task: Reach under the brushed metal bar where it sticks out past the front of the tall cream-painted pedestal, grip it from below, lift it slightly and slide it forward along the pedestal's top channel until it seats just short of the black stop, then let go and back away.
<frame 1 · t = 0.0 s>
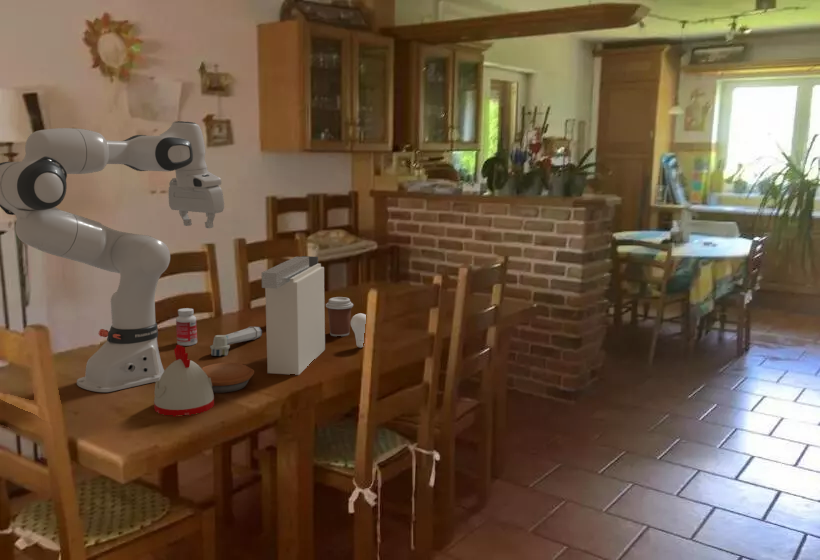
hand: (198, 226, 214), 39 cm above the table, tool pointing down, fingers open, 8 cm apart
lightbulb: (360, 348, 232), on the table
stand: (297, 360, 217), on the table
pepper shaker: (279, 326, 258), on the table
coffee cup: (339, 334, 248), on the table
brushed metal bar: (287, 278, 205), point 26 cm above the table, touching stand
pill bottle: (187, 344, 234), on the table
kitchen timer: (184, 407, 179), on the table
toothbrush head: (237, 348, 232), on the table
pie: (224, 386, 195), on the table
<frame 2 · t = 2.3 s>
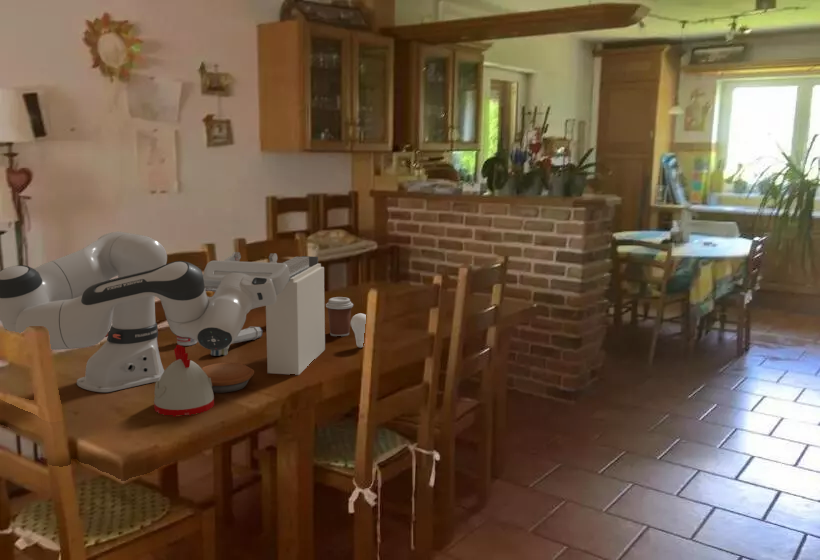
hand: (255, 254, 181), 36 cm above the table, tool pointing upward, fingers open, 8 cm apart
nothing on the table moved.
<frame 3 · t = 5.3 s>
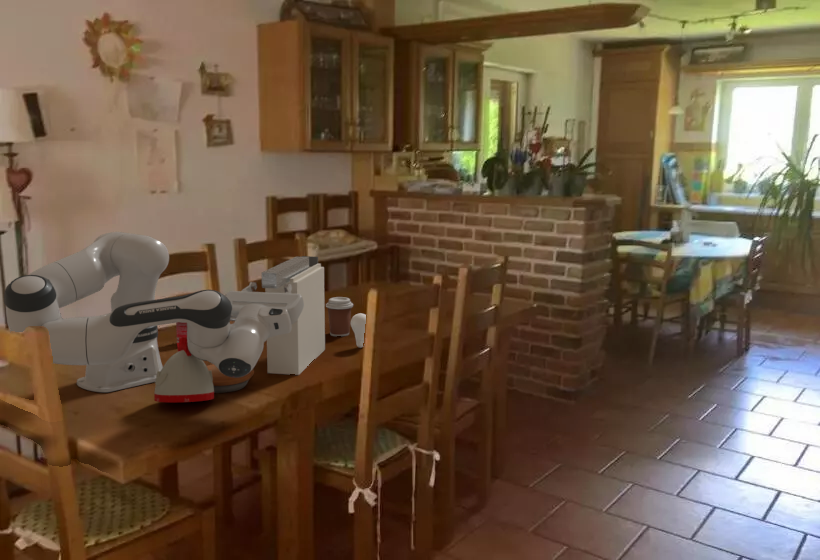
hand: (271, 284, 191), 27 cm above the table, tool pointing upward, fingers open, 8 cm apart
kitchen timer: (184, 400, 179), point 1 cm above the table
everything else where it was.
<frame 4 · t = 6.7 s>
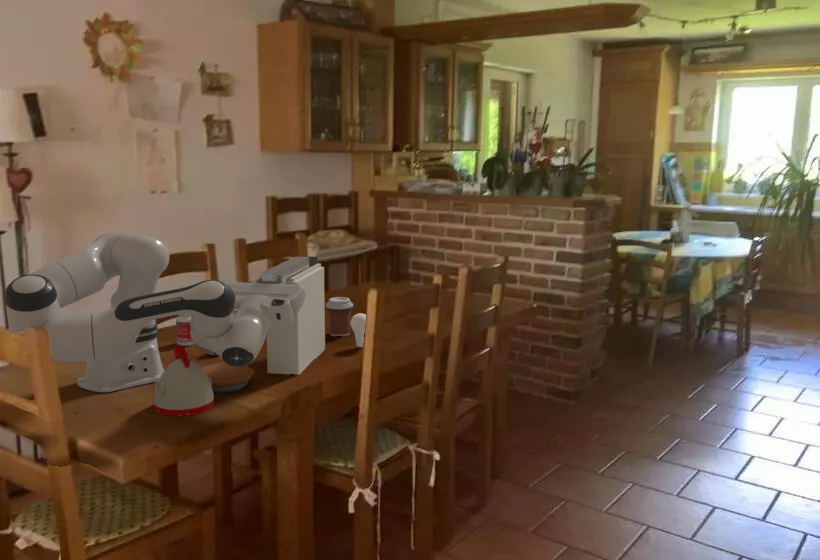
hand: (273, 276, 194), 28 cm above the table, tool pointing upward, fingers closed on brushed metal bar, 4 cm apart
brushed metal bar: (287, 278, 205), point 26 cm above the table, touching gripper, stand
kitchen timer: (184, 406, 179), on the table
everything else where it was.
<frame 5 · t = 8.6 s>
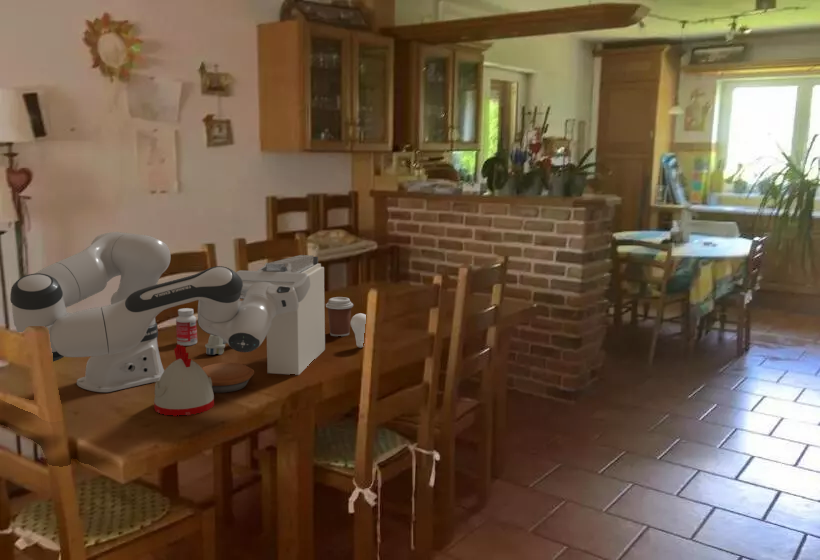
hand: (278, 265, 197), 31 cm above the table, tool pointing upward, fingers closed on brushed metal bar, 4 cm apart
brushed metal bar: (291, 273, 207), point 27 cm above the table, touching gripper
when the fingers open (30 cm above the table, at t = 9.8 s): brushed metal bar stays where it is, resting on stand.
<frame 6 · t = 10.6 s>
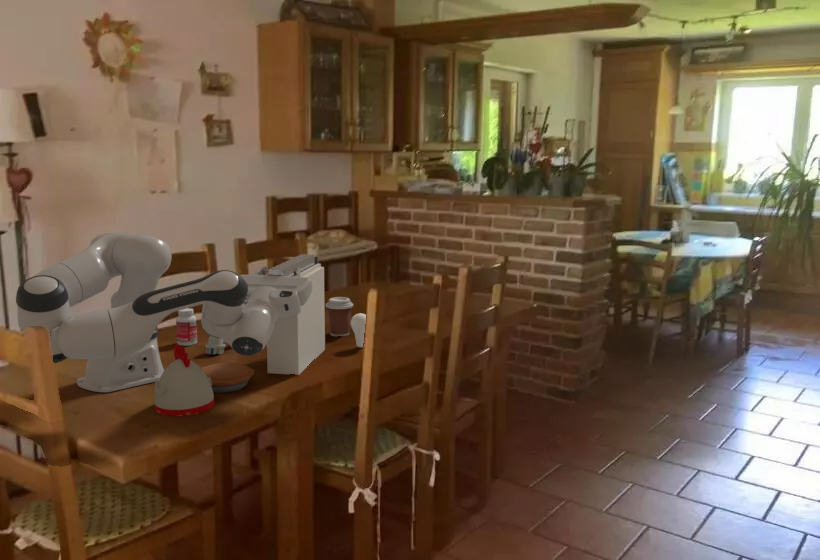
hand: (281, 269, 199), 29 cm above the table, tool pointing upward, fingers open, 8 cm apart
brushed metal bar: (293, 275, 210), point 26 cm above the table, touching stand
everything else where it was.
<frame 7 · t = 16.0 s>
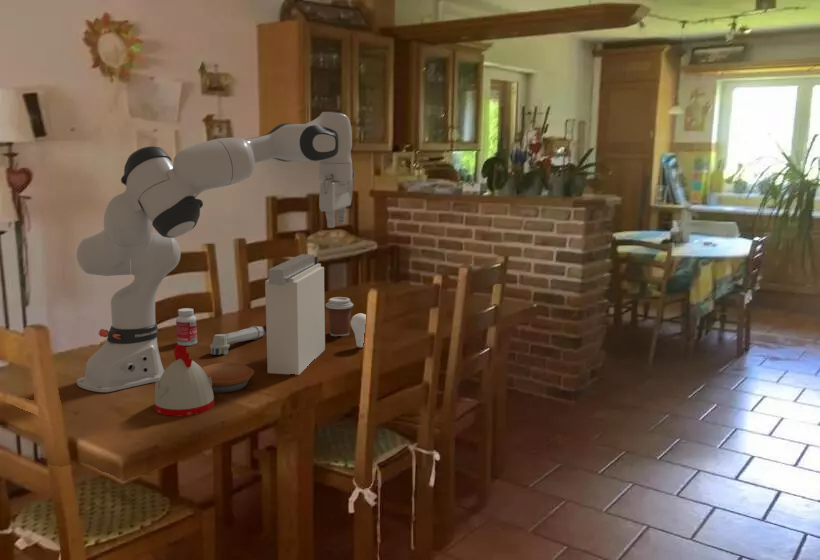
hand: (336, 225, 200), 41 cm above the table, tool pointing down, fingers open, 8 cm apart
at the end: brushed metal bar moved 5.0 cm from its start; brushed metal bar inside the target area on the stand (1.3 cm from its centre), point 26.0 cm above the stand's base; brushed metal bar touching stand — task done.
